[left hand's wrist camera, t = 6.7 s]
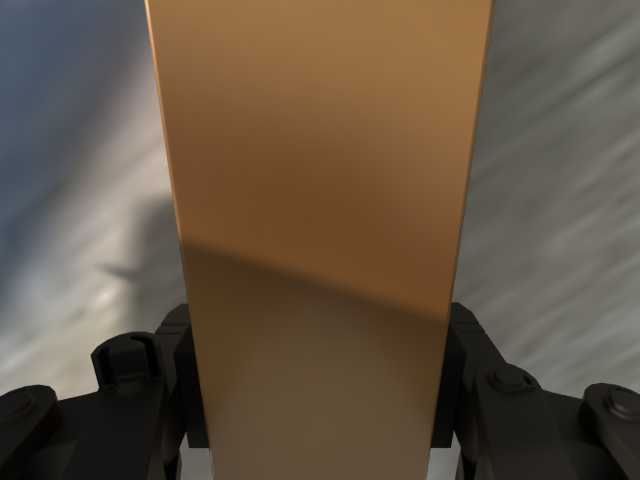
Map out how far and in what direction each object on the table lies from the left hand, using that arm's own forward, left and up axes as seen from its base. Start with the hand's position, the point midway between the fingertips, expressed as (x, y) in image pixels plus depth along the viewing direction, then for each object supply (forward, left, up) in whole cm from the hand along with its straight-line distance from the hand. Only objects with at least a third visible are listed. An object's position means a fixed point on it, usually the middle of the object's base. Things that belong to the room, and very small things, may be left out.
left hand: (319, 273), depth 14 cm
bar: (+16, +28, -1) cm, 32 cm away
